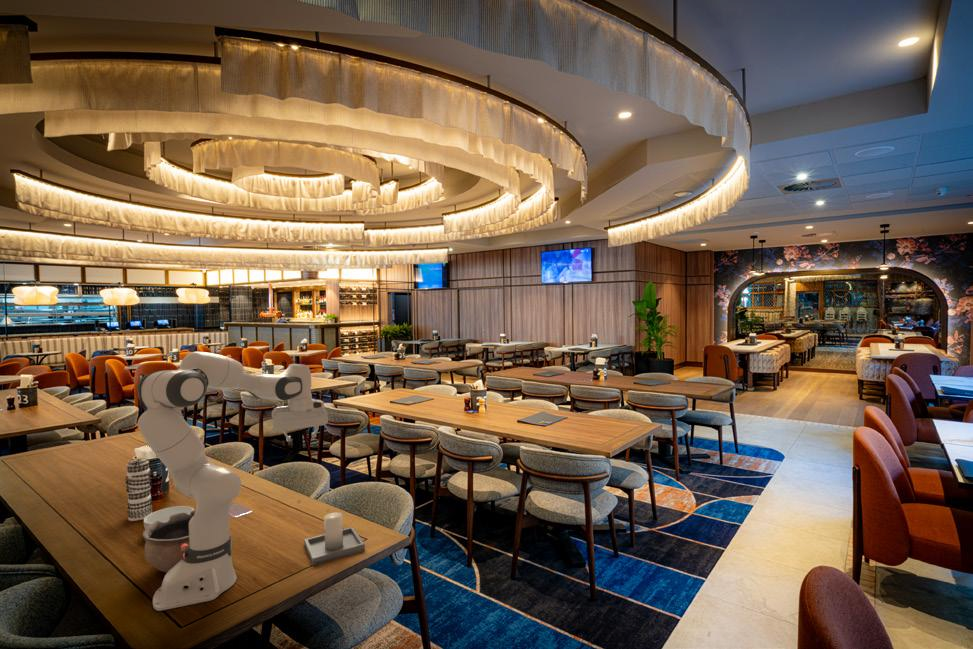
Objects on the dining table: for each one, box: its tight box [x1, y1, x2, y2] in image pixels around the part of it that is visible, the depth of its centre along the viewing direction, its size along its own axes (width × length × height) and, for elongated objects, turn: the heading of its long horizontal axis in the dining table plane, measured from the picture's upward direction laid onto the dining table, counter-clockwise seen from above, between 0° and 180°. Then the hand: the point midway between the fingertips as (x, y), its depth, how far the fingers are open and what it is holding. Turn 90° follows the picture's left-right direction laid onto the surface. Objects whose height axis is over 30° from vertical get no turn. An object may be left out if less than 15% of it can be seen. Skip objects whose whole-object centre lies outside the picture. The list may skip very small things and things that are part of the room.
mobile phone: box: [229, 502, 253, 519], centre depth 206 cm, size 8×1×15 cm
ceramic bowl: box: [142, 510, 196, 573], centre depth 161 cm, size 22×22×15 cm
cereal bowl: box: [143, 505, 195, 530], centre depth 187 cm, size 17×17×7 cm
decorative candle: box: [125, 457, 153, 522], centre depth 201 cm, size 9×9×25 cm
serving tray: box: [303, 526, 366, 566], centre depth 171 cm, size 18×16×2 cm
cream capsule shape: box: [323, 511, 344, 550], centre depth 171 cm, size 6×6×11 cm
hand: (301, 439), depth 183 cm, fingers open, 8 cm apart
